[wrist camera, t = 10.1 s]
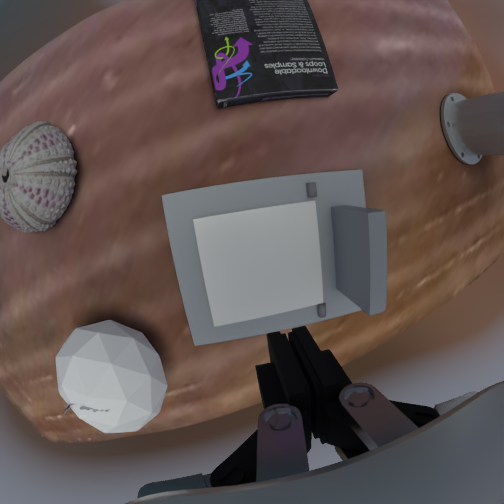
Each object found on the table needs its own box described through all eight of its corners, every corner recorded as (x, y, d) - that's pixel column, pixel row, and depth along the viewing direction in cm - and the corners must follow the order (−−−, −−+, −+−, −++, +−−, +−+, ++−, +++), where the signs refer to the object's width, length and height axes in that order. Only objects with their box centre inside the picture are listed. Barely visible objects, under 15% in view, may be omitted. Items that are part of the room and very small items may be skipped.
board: (357, 170, 31) (404, 166, 22) (364, 304, 35) (402, 335, 26) (163, 195, 28) (142, 196, 19) (195, 340, 33) (191, 388, 24)
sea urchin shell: (56, 250, 28) (20, 266, 20) (-2, 197, 25) (-38, 202, 17) (103, 155, 26) (72, 145, 19) (38, 111, 23) (4, 97, 16)
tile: (193, 219, 27) (193, 218, 28) (214, 326, 30) (213, 322, 31) (315, 200, 29) (311, 200, 30) (323, 302, 32) (319, 299, 33)
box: (194, -3, 23) (215, 111, 28) (192, -18, 20) (215, 101, 24) (292, -9, 25) (329, 99, 29) (298, -23, 21) (340, 90, 25)
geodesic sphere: (90, 424, 27) (116, 480, 17) (29, 348, 24) (19, 387, 14) (159, 371, 36) (209, 405, 26) (109, 294, 33) (139, 303, 23)
